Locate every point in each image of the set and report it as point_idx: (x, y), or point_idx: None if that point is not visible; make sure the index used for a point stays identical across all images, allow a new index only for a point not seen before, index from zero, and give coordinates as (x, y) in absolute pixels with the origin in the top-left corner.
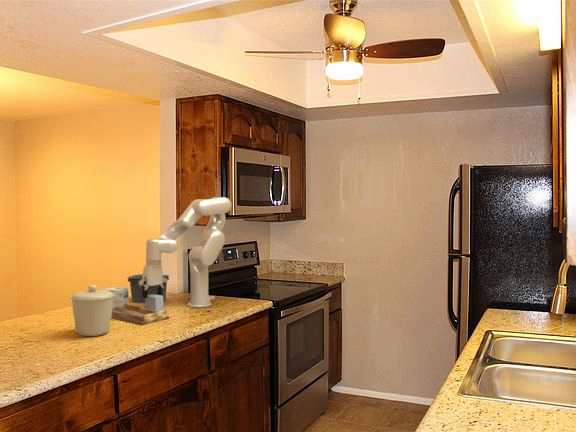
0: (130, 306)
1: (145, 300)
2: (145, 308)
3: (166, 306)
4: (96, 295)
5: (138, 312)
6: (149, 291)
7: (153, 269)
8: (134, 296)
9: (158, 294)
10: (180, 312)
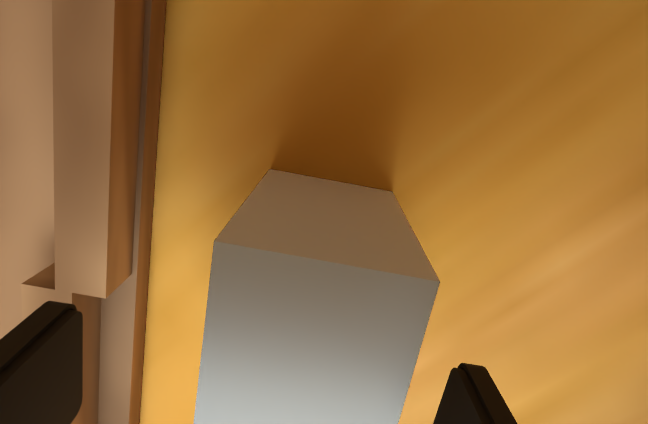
0: (57, 37)
1: (239, 214)
2: (263, 179)
3: (605, 233)
4: None
5: (51, 250)
6: None
7: None
8: None
9: (450, 400)
10: None
